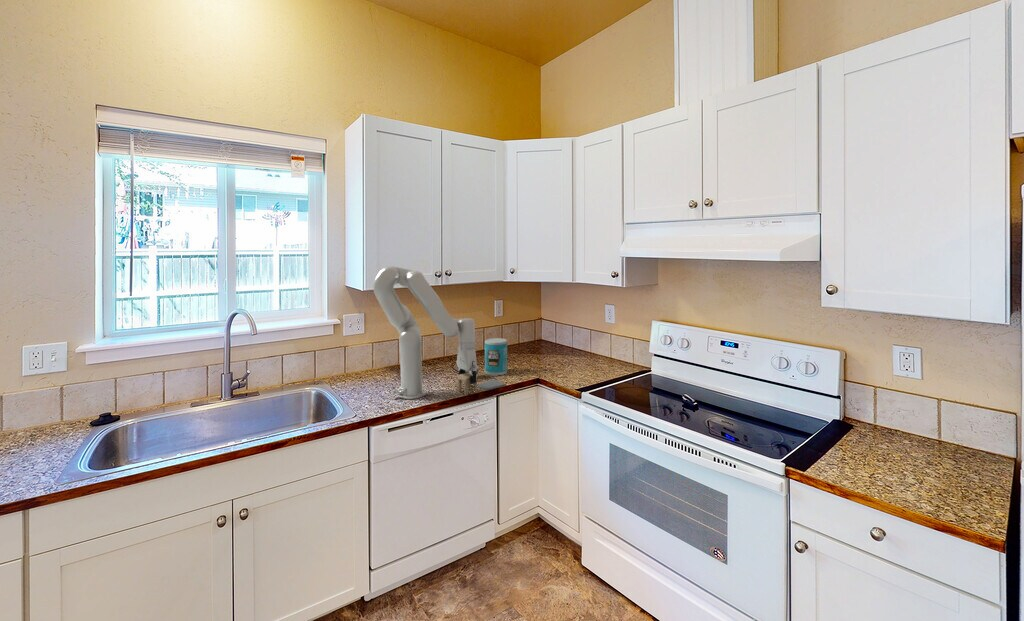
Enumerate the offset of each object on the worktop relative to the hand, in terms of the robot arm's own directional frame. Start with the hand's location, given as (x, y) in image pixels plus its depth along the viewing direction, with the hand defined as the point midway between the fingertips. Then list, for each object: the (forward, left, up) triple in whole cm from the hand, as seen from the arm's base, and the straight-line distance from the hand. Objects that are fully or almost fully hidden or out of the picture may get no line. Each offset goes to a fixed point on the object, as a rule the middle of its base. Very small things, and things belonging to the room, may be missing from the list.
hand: (467, 381), depth 210 cm
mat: (+14, 0, -5) cm, 15 cm away
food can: (+30, +16, -5) cm, 34 cm away
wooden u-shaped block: (0, 0, -5) cm, 5 cm away
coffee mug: (+12, +20, -5) cm, 24 cm away
